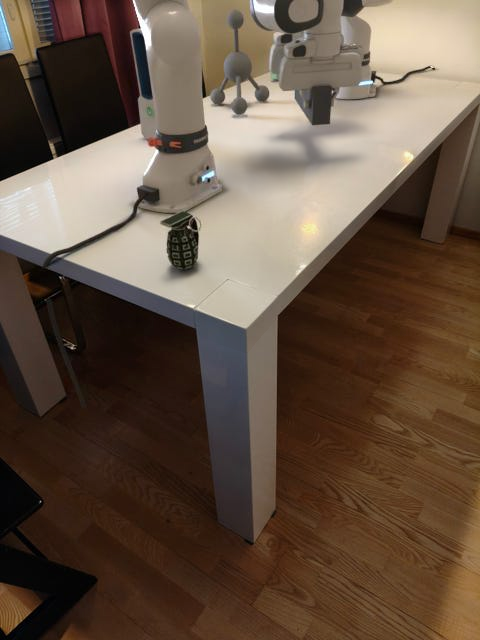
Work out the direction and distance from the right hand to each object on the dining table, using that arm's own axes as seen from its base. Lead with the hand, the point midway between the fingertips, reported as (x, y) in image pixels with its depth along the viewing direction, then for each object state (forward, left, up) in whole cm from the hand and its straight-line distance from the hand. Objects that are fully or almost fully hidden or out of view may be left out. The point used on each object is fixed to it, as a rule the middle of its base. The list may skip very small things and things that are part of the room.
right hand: (304, 88), depth 139 cm
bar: (+9, +5, -3) cm, 10 cm away
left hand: (+17, +10, 0) cm, 20 cm away
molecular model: (-26, -32, -14) cm, 44 cm away
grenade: (+78, +5, -14) cm, 79 cm away
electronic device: (+14, -41, -14) cm, 46 cm away
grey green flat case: (-76, -30, -14) cm, 83 cm away
